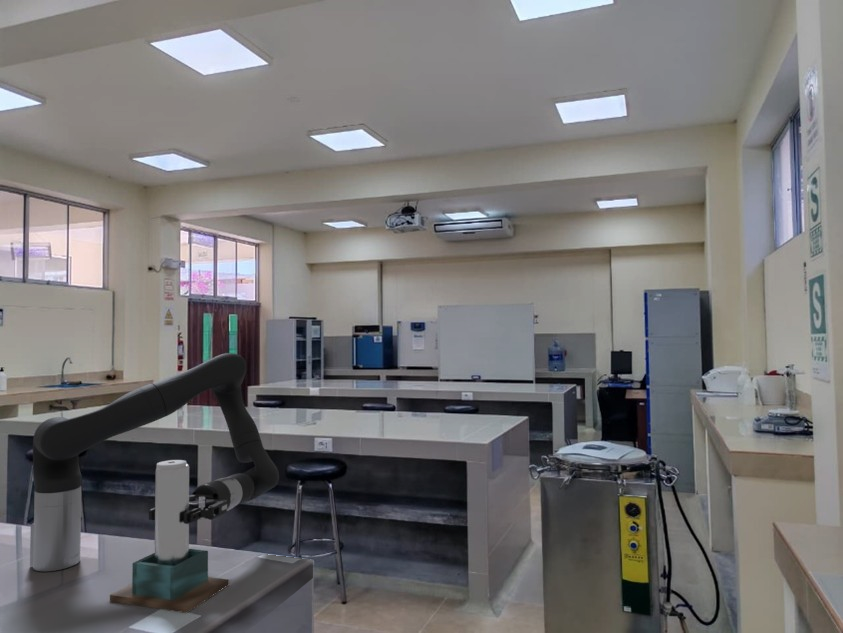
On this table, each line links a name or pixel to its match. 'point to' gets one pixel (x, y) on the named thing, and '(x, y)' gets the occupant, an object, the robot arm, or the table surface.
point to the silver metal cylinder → (171, 512)
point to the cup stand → (170, 583)
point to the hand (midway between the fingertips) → (167, 517)
